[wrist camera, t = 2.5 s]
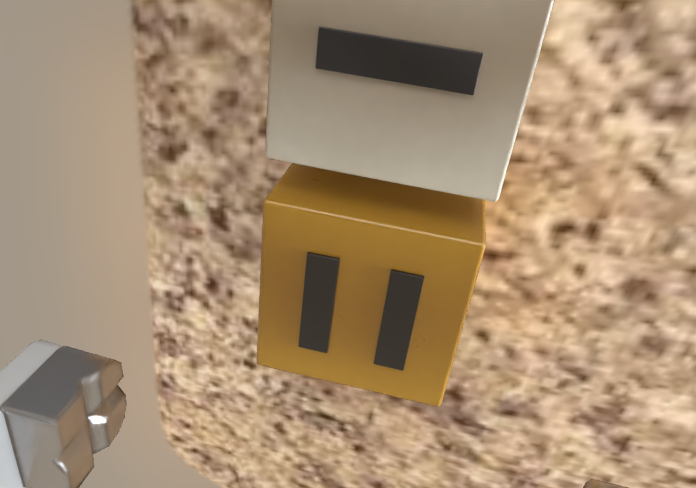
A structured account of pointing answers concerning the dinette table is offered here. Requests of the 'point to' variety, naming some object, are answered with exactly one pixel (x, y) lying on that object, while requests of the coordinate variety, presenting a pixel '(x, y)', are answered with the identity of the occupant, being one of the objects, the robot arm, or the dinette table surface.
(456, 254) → the yellow striped cube
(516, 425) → the dinette table surface
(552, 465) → the dinette table surface
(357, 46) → the white block
